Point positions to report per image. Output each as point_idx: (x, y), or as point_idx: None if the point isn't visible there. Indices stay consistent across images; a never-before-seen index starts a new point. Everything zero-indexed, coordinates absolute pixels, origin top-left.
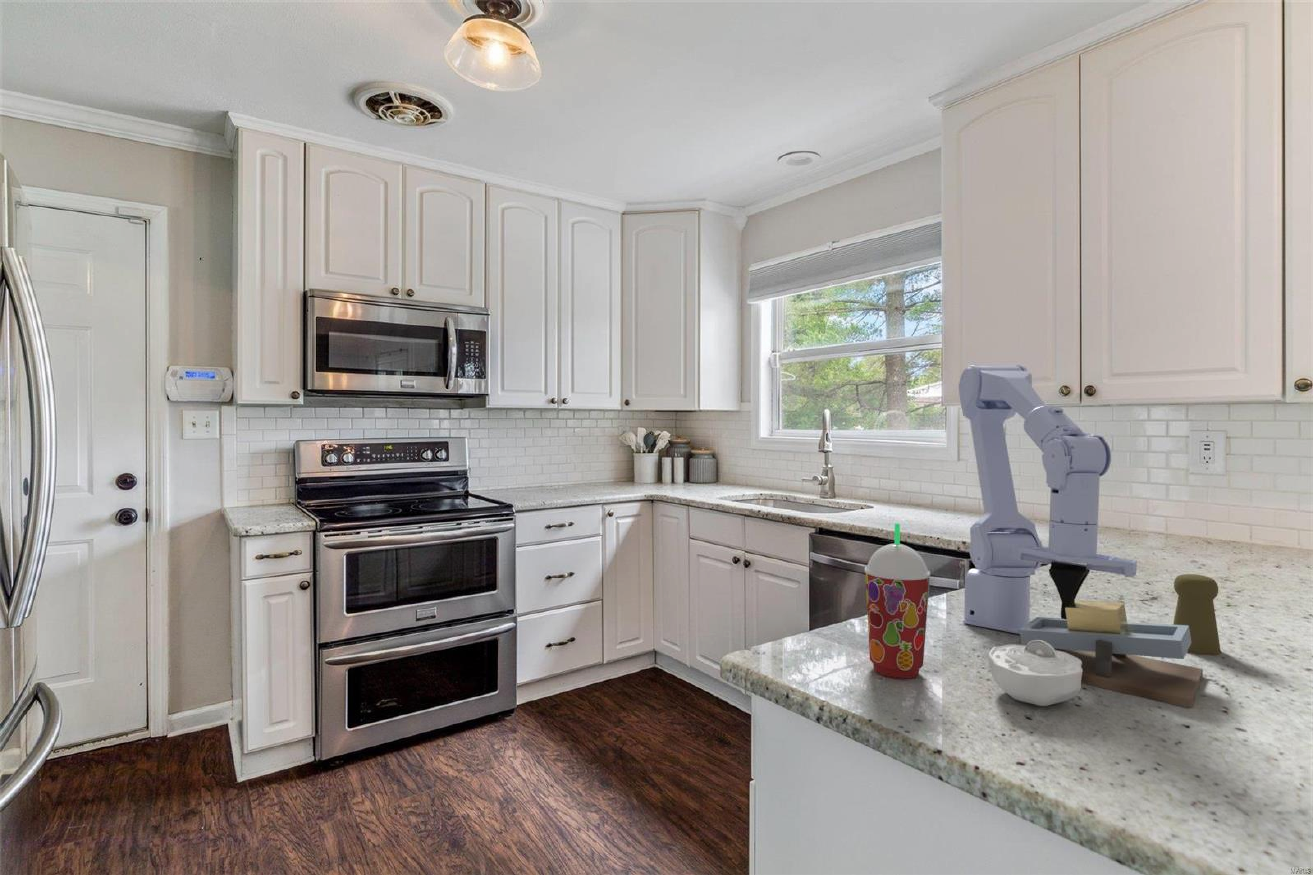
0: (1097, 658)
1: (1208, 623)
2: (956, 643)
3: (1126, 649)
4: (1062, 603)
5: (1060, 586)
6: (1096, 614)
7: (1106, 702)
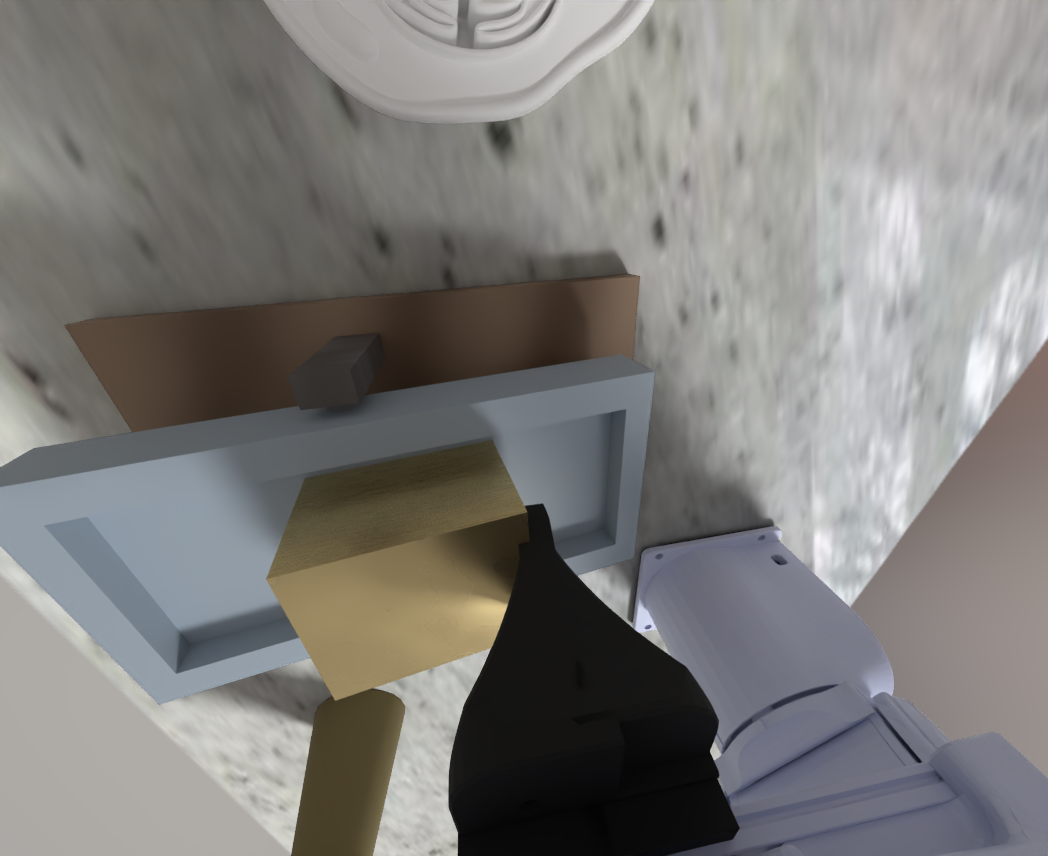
0: (358, 348)
1: (306, 790)
2: (780, 367)
3: (258, 418)
4: (550, 544)
5: (585, 614)
6: (382, 529)
7: (263, 137)
